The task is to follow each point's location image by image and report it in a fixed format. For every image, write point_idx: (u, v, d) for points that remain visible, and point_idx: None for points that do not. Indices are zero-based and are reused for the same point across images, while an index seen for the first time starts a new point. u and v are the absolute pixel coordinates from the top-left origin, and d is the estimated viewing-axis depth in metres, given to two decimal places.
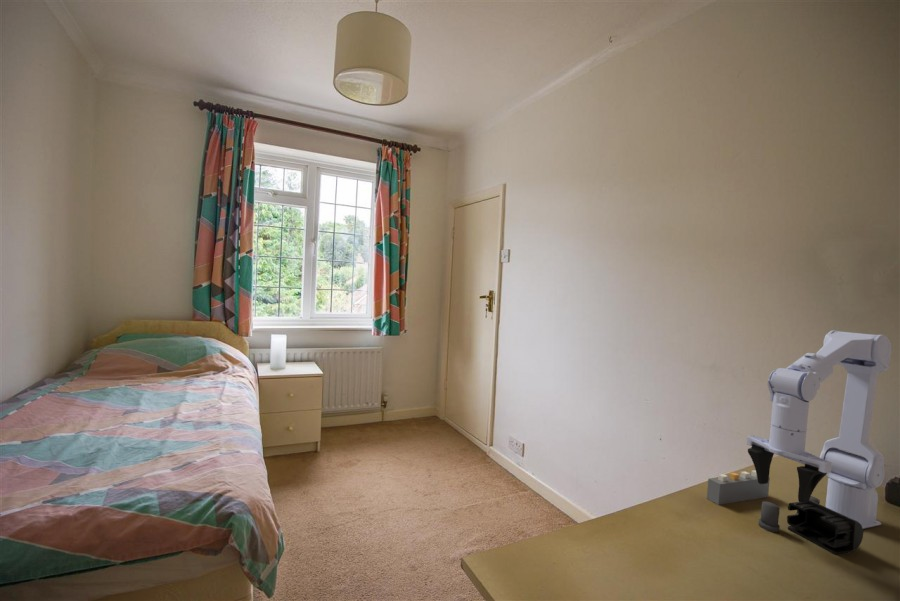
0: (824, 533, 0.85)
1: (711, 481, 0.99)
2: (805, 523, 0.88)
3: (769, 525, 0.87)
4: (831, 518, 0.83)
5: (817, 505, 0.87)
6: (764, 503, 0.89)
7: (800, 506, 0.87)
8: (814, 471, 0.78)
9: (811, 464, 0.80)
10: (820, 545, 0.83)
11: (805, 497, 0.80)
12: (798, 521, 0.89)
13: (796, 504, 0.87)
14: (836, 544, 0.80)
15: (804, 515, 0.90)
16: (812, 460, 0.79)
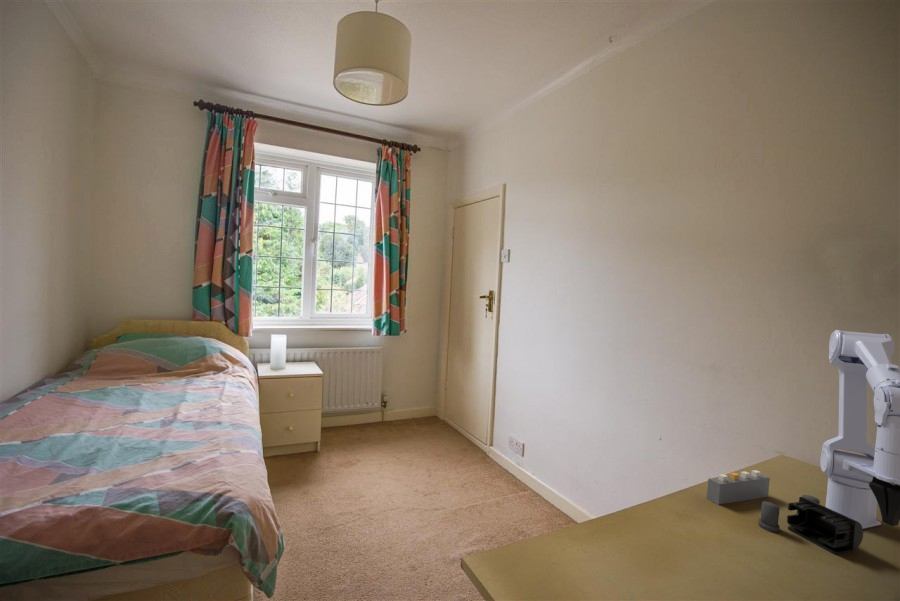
0: (824, 533, 0.85)
1: (711, 481, 0.99)
2: (805, 523, 0.88)
3: (769, 525, 0.87)
4: (831, 518, 0.83)
5: (817, 505, 0.87)
6: (764, 503, 0.89)
7: (800, 506, 0.87)
8: None
9: None
10: (820, 545, 0.83)
11: (895, 520, 0.75)
12: (798, 521, 0.89)
13: (796, 504, 0.87)
14: (836, 544, 0.80)
15: (804, 515, 0.90)
16: None
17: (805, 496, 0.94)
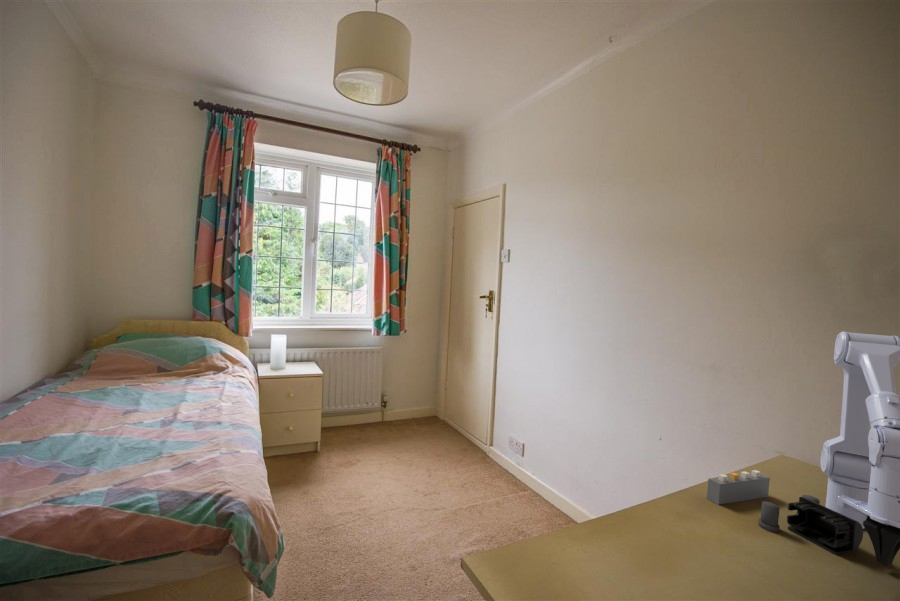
0: (824, 533, 0.85)
1: (711, 481, 0.99)
2: (805, 523, 0.88)
3: (769, 525, 0.87)
4: (831, 518, 0.83)
5: (817, 505, 0.87)
6: (764, 503, 0.89)
7: (800, 506, 0.87)
8: None
9: None
10: (820, 545, 0.83)
11: (889, 560, 0.75)
12: (798, 521, 0.89)
13: (796, 504, 0.87)
14: (836, 544, 0.80)
15: (804, 515, 0.90)
16: None
17: (805, 496, 0.94)
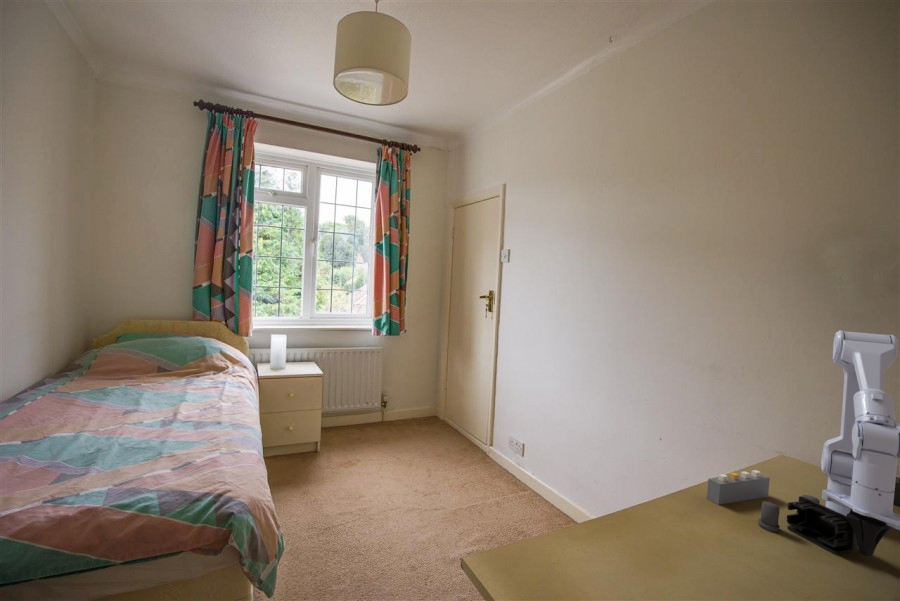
0: (824, 532, 0.85)
1: (711, 481, 0.99)
2: (805, 522, 0.88)
3: (769, 525, 0.87)
4: (831, 517, 0.83)
5: (817, 504, 0.87)
6: (764, 503, 0.89)
7: (800, 505, 0.87)
8: (881, 526, 0.76)
9: None
10: (820, 544, 0.83)
11: (870, 551, 0.78)
12: (798, 520, 0.89)
13: (796, 503, 0.88)
14: (836, 543, 0.80)
15: (803, 514, 0.90)
16: None
17: (805, 496, 0.94)
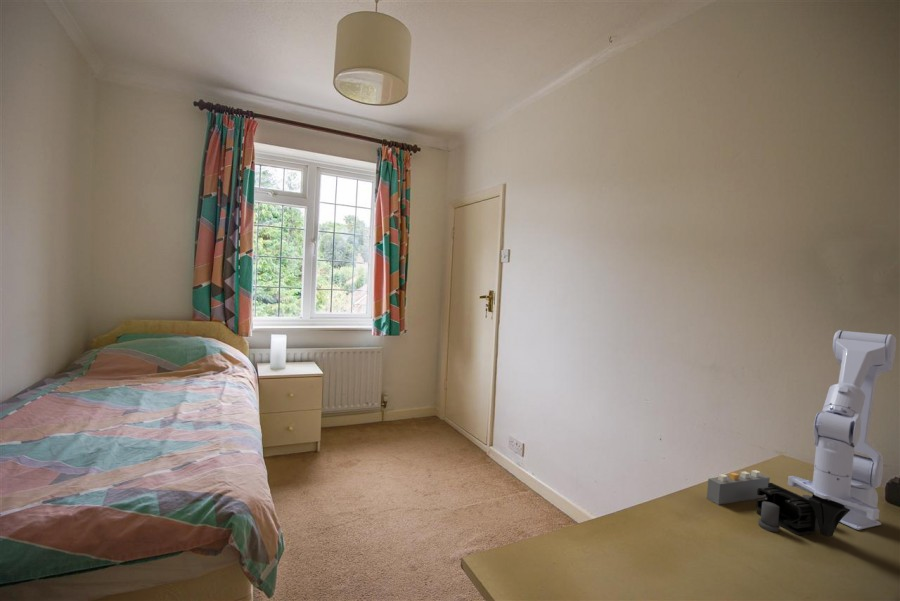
0: (789, 516, 0.91)
1: (711, 481, 0.99)
2: None
3: (769, 525, 0.87)
4: (795, 501, 0.89)
5: (784, 490, 0.93)
6: (764, 503, 0.89)
7: (768, 491, 0.93)
8: (839, 508, 0.82)
9: (858, 510, 0.80)
10: (785, 526, 0.89)
11: (829, 532, 0.84)
12: None
13: (764, 489, 0.93)
14: (799, 525, 0.86)
15: (772, 500, 0.96)
16: (859, 506, 0.79)
17: (805, 496, 0.94)
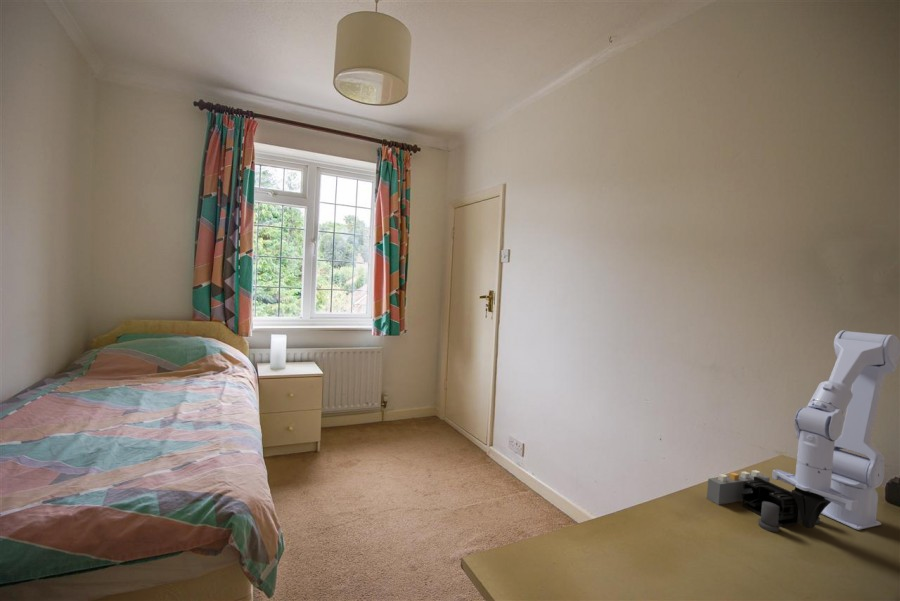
0: None
1: (711, 481, 0.99)
2: (758, 500, 0.97)
3: (769, 525, 0.87)
4: (779, 494, 0.92)
5: (768, 483, 0.96)
6: (764, 503, 0.89)
7: (753, 484, 0.96)
8: (819, 500, 0.85)
9: (837, 501, 0.83)
10: None
11: (811, 523, 0.87)
12: (752, 498, 0.98)
13: (750, 482, 0.97)
14: (782, 517, 0.89)
15: (757, 493, 0.99)
16: (839, 498, 0.82)
17: None
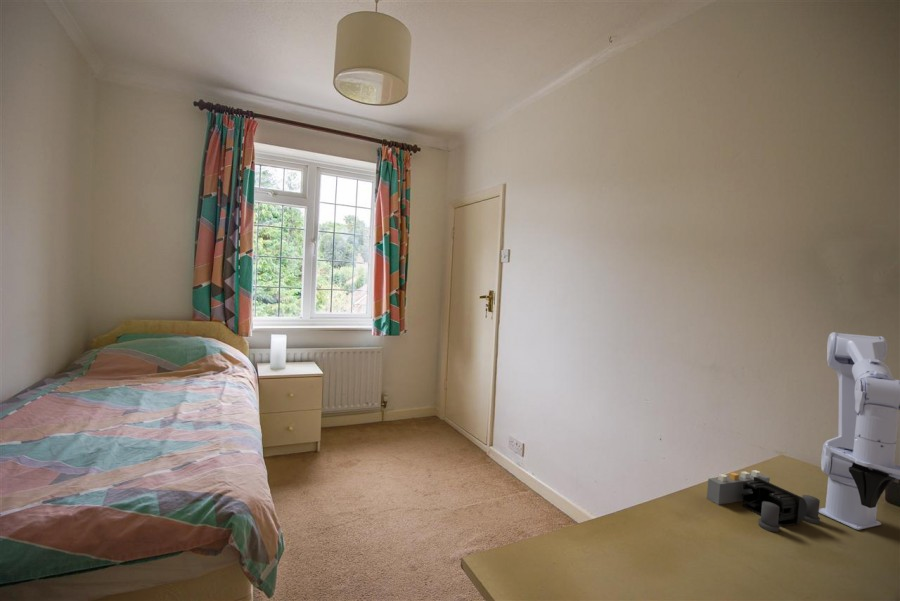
0: None
1: (711, 481, 0.99)
2: (758, 500, 0.97)
3: (769, 525, 0.87)
4: (779, 494, 0.92)
5: (768, 484, 0.96)
6: (764, 503, 0.89)
7: (753, 485, 0.96)
8: (883, 477, 0.78)
9: None
10: None
11: (872, 502, 0.80)
12: (752, 499, 0.98)
13: (750, 483, 0.97)
14: (782, 517, 0.89)
15: (757, 493, 0.99)
16: None
17: (805, 496, 0.94)
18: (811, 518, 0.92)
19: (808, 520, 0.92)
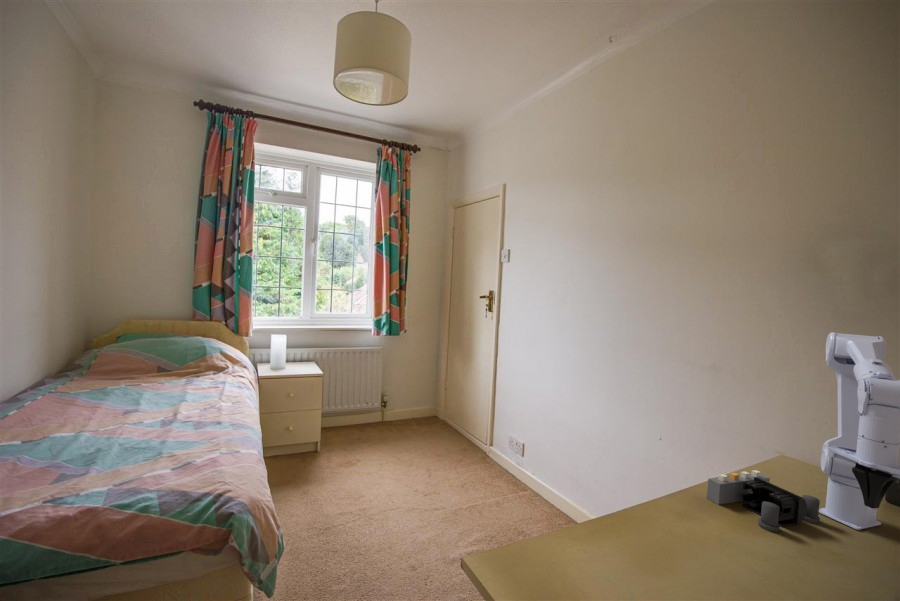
0: None
1: (711, 481, 0.99)
2: (758, 500, 0.97)
3: (769, 525, 0.87)
4: (779, 494, 0.92)
5: (768, 484, 0.96)
6: (764, 503, 0.89)
7: (753, 485, 0.96)
8: (887, 477, 0.78)
9: None
10: None
11: (876, 503, 0.80)
12: (752, 499, 0.98)
13: (750, 483, 0.97)
14: (782, 517, 0.89)
15: (757, 493, 0.99)
16: None
17: (805, 496, 0.94)
18: (811, 518, 0.92)
19: (808, 520, 0.92)
